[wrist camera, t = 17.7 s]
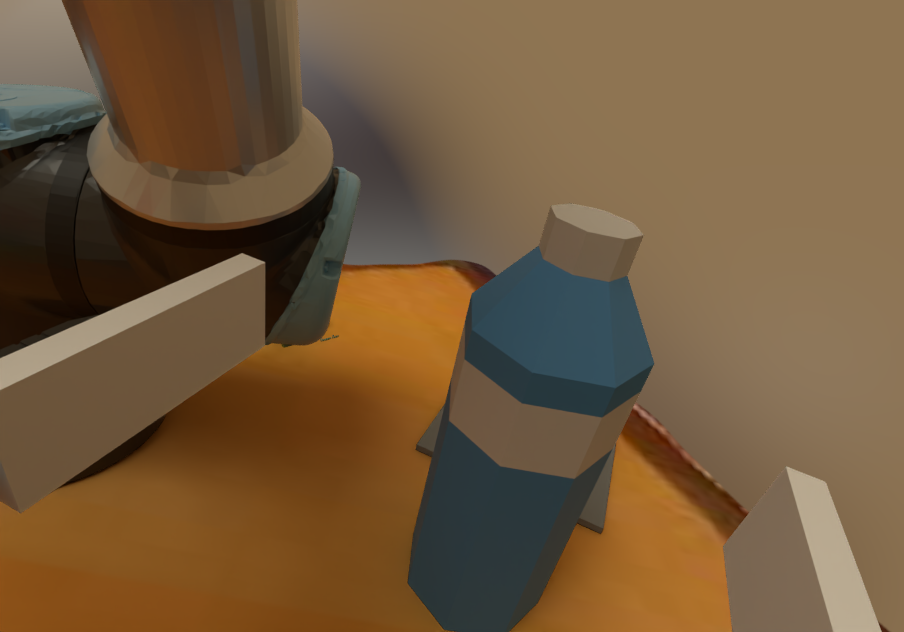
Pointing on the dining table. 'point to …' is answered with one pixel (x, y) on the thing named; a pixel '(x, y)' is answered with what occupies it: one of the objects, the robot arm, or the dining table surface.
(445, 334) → the dining table surface
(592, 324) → the water bottle
